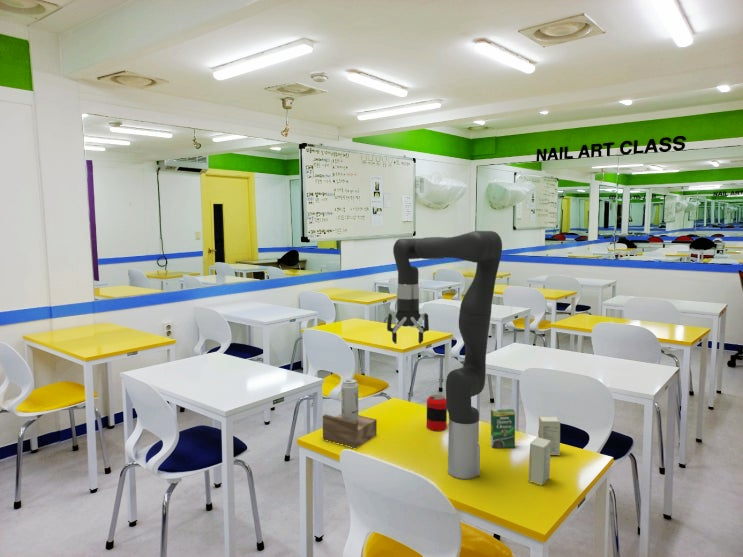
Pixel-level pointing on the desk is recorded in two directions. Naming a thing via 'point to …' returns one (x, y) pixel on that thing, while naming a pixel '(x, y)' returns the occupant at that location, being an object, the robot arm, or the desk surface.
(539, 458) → the skincare box
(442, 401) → the soda can
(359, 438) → the walnut shelf block
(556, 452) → the skincare box
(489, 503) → the desk surface
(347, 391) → the energy drink can
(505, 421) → the coffee box
